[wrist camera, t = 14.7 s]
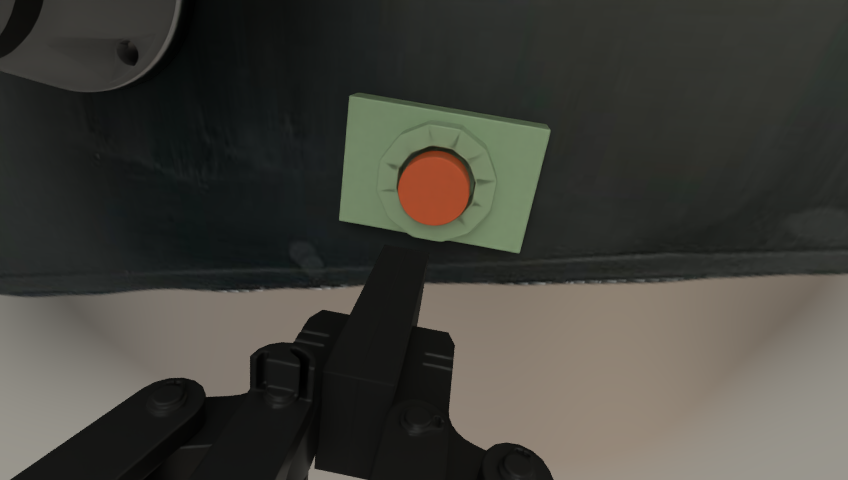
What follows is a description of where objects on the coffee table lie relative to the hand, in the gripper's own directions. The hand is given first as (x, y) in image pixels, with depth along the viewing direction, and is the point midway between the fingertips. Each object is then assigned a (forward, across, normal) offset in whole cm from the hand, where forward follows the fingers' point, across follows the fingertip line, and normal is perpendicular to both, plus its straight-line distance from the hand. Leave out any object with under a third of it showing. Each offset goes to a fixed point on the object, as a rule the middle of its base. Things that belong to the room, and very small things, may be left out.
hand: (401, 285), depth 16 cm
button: (+13, 0, 0) cm, 13 cm away
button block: (+16, 0, 0) cm, 16 cm away
